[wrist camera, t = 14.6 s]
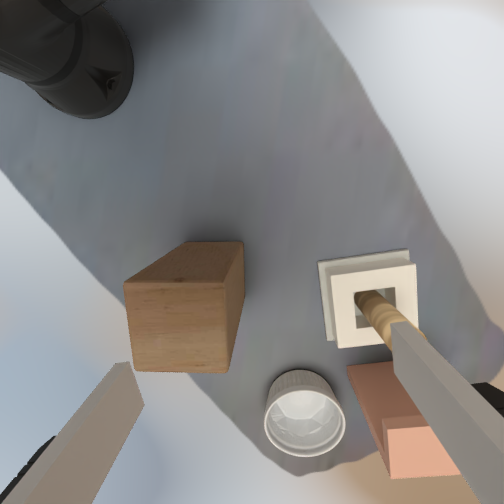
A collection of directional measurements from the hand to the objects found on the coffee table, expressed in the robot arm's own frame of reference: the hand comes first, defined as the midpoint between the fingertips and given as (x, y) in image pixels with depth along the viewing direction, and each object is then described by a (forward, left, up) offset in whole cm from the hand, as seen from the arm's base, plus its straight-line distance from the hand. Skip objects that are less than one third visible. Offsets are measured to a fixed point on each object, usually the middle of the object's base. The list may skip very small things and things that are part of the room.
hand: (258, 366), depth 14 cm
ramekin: (+30, +2, -32) cm, 44 cm away
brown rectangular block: (+23, +17, -32) cm, 43 cm away
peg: (+12, +15, -31) cm, 36 cm away
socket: (+12, +15, -32) cm, 37 cm away
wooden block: (+4, -9, -32) cm, 34 cm away
